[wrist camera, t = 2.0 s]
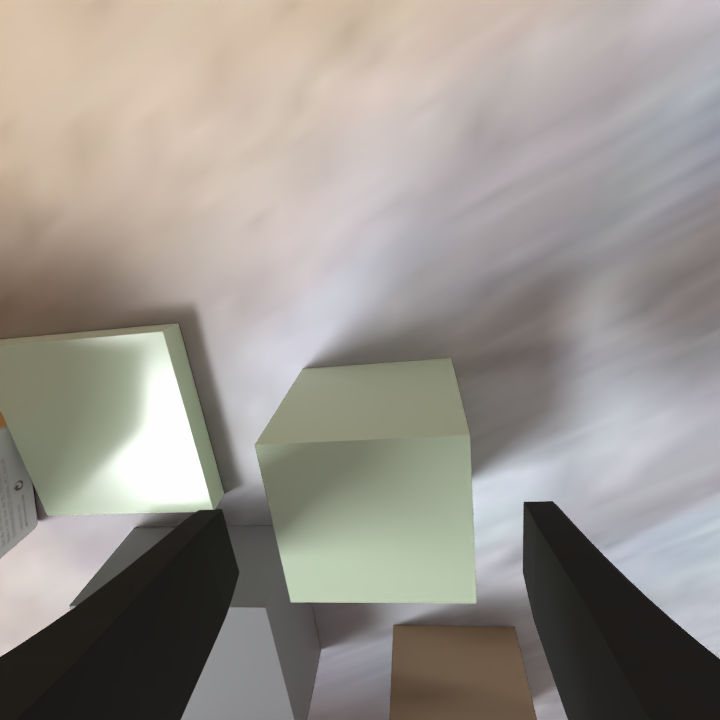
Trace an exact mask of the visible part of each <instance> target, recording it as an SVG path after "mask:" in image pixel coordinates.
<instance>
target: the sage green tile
mask: <svg viewBox="0 0 720 720" xmlns="http://www.w3.org/2000/svg"><path fill="white" fill-rule="evenodd" d="M0 410H1V413H2V415H3V417H4V419H5V422H6V424H7V426H8V428H9V431H10V433H11V435H12V437H13V440H14V442H15V444H16V446H17V449H18V451H19V453H20V455H21V458H22V460H23V462H24V464H25V467H26V469H27V471H28V473H29V476H30V478H31V480H32V483H33V485H34V487H35V489H36V492H37V494H38V496H39V498H40V501H41V503H42V505H43V507H44V510H45V512H46V514H47V516H58V515H98V514H137V513H177V512H197V511H198V510H215V509H216V507H217V506H218V504H219V502H220V501H221V499H222V498H223V496H224V491H223V487H222V483H221V480H220V476H219V472H218V469H217V465H216V461H215V457H214V454H213V450H212V446H211V443H210V439H209V435H208V431H207V428H206V424H205V420H204V416H203V413H202V409H201V405H200V402H199V398H198V394H197V390H196V387H195V383H194V379H193V376H192V372H191V368H190V364H189V361H188V357H187V353H186V350H185V346H184V342H183V338H182V335H181V331H180V327H179V324H178V323H173V324H162V325H151V326H141V327H130V328H119V329H108V330H97V331H86V332H76V333H65V334H54V335H43V336H32V337H21V338H11V339H0Z"/></svg>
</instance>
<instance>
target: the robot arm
mask: <svg viewBox="0 0 720 720" xmlns="http://www.w3.org/2000/svg"><path fill="white" fill-rule="evenodd" d="M523 575H524V579H525V584H526V588H527V592H528V597H529V601H530V605H531V610H532V614H533V618H534V622H535V625H536V628H537V631H538V633H539V636H540V639H541V642H542V645H543V648H544V651H545V654H546V657H547V660H548V663H549V666H550V669H551V672H552V674H553V677H554V680H555V683H556V686H557V689H558V692H559V695H560V698H561V701H562V704H563V706H564V709H565V712H566V715H567V718H568V720H720V659H719V658H718V657H716V656H715V655H714V654H713V653H711V652H710V651H709V650H708V649H706V648H705V647H704V646H703V645H701V644H700V643H699V642H698V641H697V640H695V639H694V638H693V637H692V636H691V635H689V634H688V633H687V632H686V631H685V630H684V629H682V628H681V627H680V626H679V625H678V624H677V623H675V622H674V621H673V620H672V619H671V618H670V617H669V616H667V615H666V614H665V613H664V612H663V611H662V610H661V609H660V608H659V607H657V606H656V605H655V604H654V603H653V602H652V601H651V600H650V599H648V598H647V597H646V596H645V595H644V594H643V593H642V592H641V591H640V590H639V589H638V588H637V587H636V586H635V585H633V584H632V583H631V582H630V581H629V580H628V579H627V578H626V577H625V576H624V575H623V574H622V573H621V572H620V571H619V570H618V569H617V568H616V567H615V566H614V565H613V564H612V563H611V562H610V561H609V560H608V559H607V558H606V557H605V556H604V555H603V554H602V553H601V552H600V551H599V550H598V549H597V548H596V547H595V546H594V545H593V544H592V543H591V542H590V541H589V540H588V539H587V537H586V536H585V535H584V534H583V533H582V532H581V531H580V530H579V529H578V528H577V527H576V526H575V525H574V524H573V522H572V521H571V520H570V519H569V518H568V517H567V516H566V515H565V514H564V513H563V511H562V510H561V509H560V508H559V507H558V506H557V505H556V504H555V503H554V502H553V501H547V502H524V526H523ZM238 577H239V569H238V565H237V562H236V558H235V555H234V551H233V547H232V544H231V540H230V537H229V533H228V529H227V526H226V522H225V519H224V515H223V511H222V509H217V510H198V511H197V512H196V513H194V514H193V515H191V516H190V517H189V518H188V519H186V520H185V521H184V522H182V523H181V524H180V525H179V526H177V527H176V528H175V529H174V530H172V531H171V532H170V533H169V534H168V535H166V536H165V537H164V538H163V539H161V540H160V541H159V542H158V543H157V544H155V545H154V546H153V547H152V548H150V549H149V550H148V551H147V552H145V553H144V554H143V555H142V556H140V557H139V558H138V559H137V560H136V561H134V562H133V563H132V564H131V565H129V566H128V567H127V568H126V569H124V570H123V571H122V572H121V573H119V574H118V575H117V576H115V577H114V578H113V579H111V580H110V581H109V582H107V583H106V584H105V585H103V586H102V587H101V588H100V589H98V590H97V591H96V592H94V593H93V594H92V595H90V596H89V597H88V598H86V599H85V600H84V601H82V602H81V603H80V604H78V605H77V606H76V607H74V608H73V609H72V610H70V611H69V612H67V613H66V614H65V615H63V616H62V617H60V618H59V619H57V620H56V621H55V622H53V623H52V624H50V625H49V626H47V627H46V628H44V629H43V630H41V631H40V632H38V633H37V634H35V635H34V636H32V637H31V638H29V639H28V640H26V641H25V642H23V643H22V644H20V645H19V646H17V647H15V648H14V649H12V650H11V651H9V652H8V653H6V654H4V655H3V656H1V657H0V720H181V718H182V716H183V713H184V711H185V709H186V707H187V704H188V702H189V700H190V698H191V695H192V693H193V691H194V689H195V686H196V684H197V682H198V680H199V677H200V675H201V673H202V671H203V668H204V666H205V664H206V662H207V659H208V657H209V655H210V653H211V650H212V648H213V646H214V644H215V641H216V639H217V637H218V634H219V632H220V630H221V628H222V625H223V623H224V620H225V618H226V616H227V613H228V610H229V606H230V603H231V600H232V597H233V594H234V590H235V587H236V583H237V580H238Z"/></svg>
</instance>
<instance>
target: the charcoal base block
mask: <svg viewBox="0 0 720 720" xmlns="http://www.w3.org/2000/svg"><path fill="white" fill-rule="evenodd" d="M175 528H176V527H156V528H134V529H133V530H132V531H131V532H130V534H129V535H128V536H127V537H126V538H125V540H124V541H123V542H122V543H121V544H120V546H119V547H118V548H117V549H116V550H115V552H114V553H113V554H112V555H111V556H110V558H109V559H108V560H107V561H106V562H105V564H104V565H103V566H102V567H101V568H100V570H99V571H98V572H97V573H96V574H95V576H94V577H93V578H92V579H91V580H90V582H89V583H88V584H87V585H86V586H85V588H84V589H83V590H82V591H81V592H80V594H79V595H78V596H77V597H76V598H75V600H74V601H73V602H72V603H71V604H70V606H69V607H70V609H71V610H72V609H73V608H74V607H76V606H77V605H78V604H80V603H81V602H82V601H84V600H85V599H86V598H88V597H89V596H90V595H92V594H93V593H94V592H96V591H97V590H98V589H100V588H101V587H102V586H103V585H105V584H106V583H107V582H109V581H110V580H111V579H113V578H114V577H115V576H117V575H118V574H119V573H121V572H122V571H123V570H124V569H126V568H127V567H128V566H129V565H131V564H132V563H133V562H134V561H136V560H137V559H138V558H139V557H140V556H142V555H143V554H144V553H145V552H147V551H148V550H149V549H150V548H152V547H153V546H154V545H155V544H157V543H158V542H159V541H160V540H161V539H163V538H164V537H165V536H166V535H168V534H169V533H170V532H171V531H172V530H174V529H175ZM227 529H228V533H229V537H230V540H231V544H232V547H233V551H234V555H235V558H236V562H237V565H238V569H239V577H238V580H237V583H236V587H235V590H234V594H233V597H232V600H231V603H230V606H229V610H228V613H227V616H226V618H225V620H224V623H223V625H222V628H221V630H220V632H219V634H218V637H217V639H216V641H215V644H214V646H213V648H212V650H211V653H210V655H209V657H208V659H207V662H206V664H205V666H204V668H203V671H202V673H201V675H200V677H199V680H198V682H197V684H196V686H195V689H194V691H193V693H192V695H191V698H190V700H189V702H188V704H187V707H186V709H185V711H184V713H183V716H182V718H181V720H307V718H308V713H309V708H310V703H311V698H312V693H313V688H314V683H315V678H316V673H317V668H318V663H319V658H320V653H321V647H320V642H319V637H318V632H317V628H316V623H315V618H314V613H313V608H312V604H311V602H291V601H290V596H289V592H288V588H287V583H286V579H285V575H284V570H283V566H282V562H281V557H280V553H279V549H278V544H277V540H276V536H275V531H274V527H273V525H254V526H227Z"/></svg>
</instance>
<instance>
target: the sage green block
mask: <svg viewBox="0 0 720 720" xmlns="http://www.w3.org/2000/svg"><path fill="white" fill-rule="evenodd" d="M255 449H256V453H257V457H258V462H259V466H260V470H261V475H262V479H263V483H264V488H265V492H266V496H267V501H268V505H269V509H270V514H271V518H272V522H273V527H274V531H275V536H276V540H277V544H278V549H279V553H280V557H281V562H282V566H283V570H284V575H285V579H286V583H287V588H288V592H289V596H290V601H291V602H319V603H476V578H475V551H474V525H473V499H472V473H471V447H470V433H469V429H468V425H467V420H466V416H465V412H464V408H463V404H462V400H461V396H460V392H459V388H458V384H457V380H456V376H455V372H454V368H453V364H452V360H451V358H444V359H430V360H417V361H403V362H389V363H376V364H362V365H348V366H334V367H321V368H307V369H302V371H301V372H300V374H299V375H298V377H297V379H296V380H295V382H294V383H293V385H292V386H291V388H290V390H289V391H288V393H287V394H286V396H285V398H284V399H283V401H282V402H281V404H280V406H279V407H278V409H277V410H276V412H275V414H274V415H273V417H272V418H271V420H270V422H269V423H268V425H267V426H266V428H265V429H264V431H263V433H262V434H261V436H260V437H259V439H258V441H257V442H256V444H255Z"/></svg>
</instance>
